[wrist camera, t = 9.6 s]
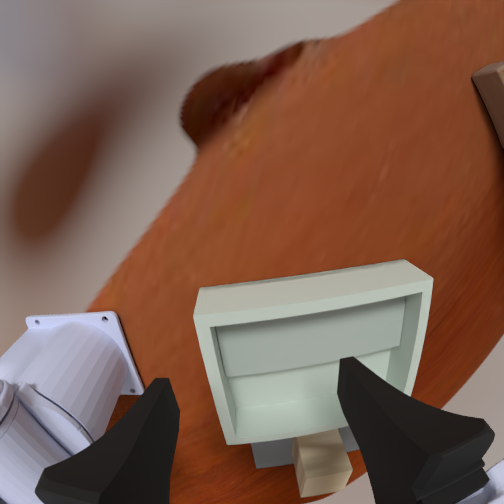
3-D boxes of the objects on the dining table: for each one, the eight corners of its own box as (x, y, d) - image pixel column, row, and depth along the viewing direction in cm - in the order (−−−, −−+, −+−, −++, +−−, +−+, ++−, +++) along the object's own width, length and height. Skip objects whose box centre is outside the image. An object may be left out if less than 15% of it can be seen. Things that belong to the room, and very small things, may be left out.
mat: (256, 465, 27) (256, 468, 26) (247, 423, 24) (247, 426, 24) (362, 445, 27) (363, 447, 27) (372, 399, 25) (373, 402, 24)
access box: (227, 410, 24) (227, 445, 20) (199, 287, 20) (193, 316, 16) (389, 380, 24) (406, 408, 20) (404, 259, 21) (433, 278, 17)
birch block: (291, 451, 26) (300, 497, 20) (294, 428, 25) (306, 478, 19) (329, 445, 26) (343, 490, 20) (335, 422, 25) (352, 469, 19)
